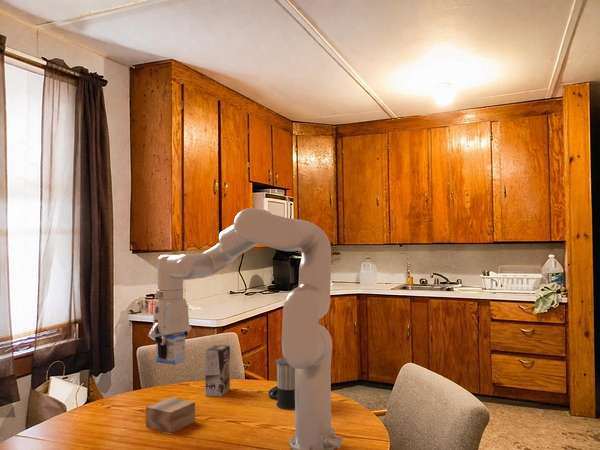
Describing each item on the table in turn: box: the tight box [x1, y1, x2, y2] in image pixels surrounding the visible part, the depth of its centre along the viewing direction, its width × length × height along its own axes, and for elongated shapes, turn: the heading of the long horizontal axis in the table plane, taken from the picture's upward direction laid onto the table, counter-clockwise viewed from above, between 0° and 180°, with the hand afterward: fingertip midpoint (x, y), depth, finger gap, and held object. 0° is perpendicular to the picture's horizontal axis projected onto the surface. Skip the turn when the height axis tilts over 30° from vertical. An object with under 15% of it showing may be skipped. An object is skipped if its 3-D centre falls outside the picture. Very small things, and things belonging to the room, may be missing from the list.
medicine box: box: [155, 333, 186, 366], centre depth 142 cm, size 8×4×9 cm, turn 62°
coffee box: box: [204, 344, 231, 397], centre depth 171 cm, size 9×6×16 cm
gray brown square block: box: [145, 396, 196, 434], centre depth 141 cm, size 10×10×6 cm
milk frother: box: [267, 357, 295, 410], centre depth 160 cm, size 14×16×15 cm
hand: (170, 355), depth 141 cm, fingers closed on medicine box, 5 cm apart
